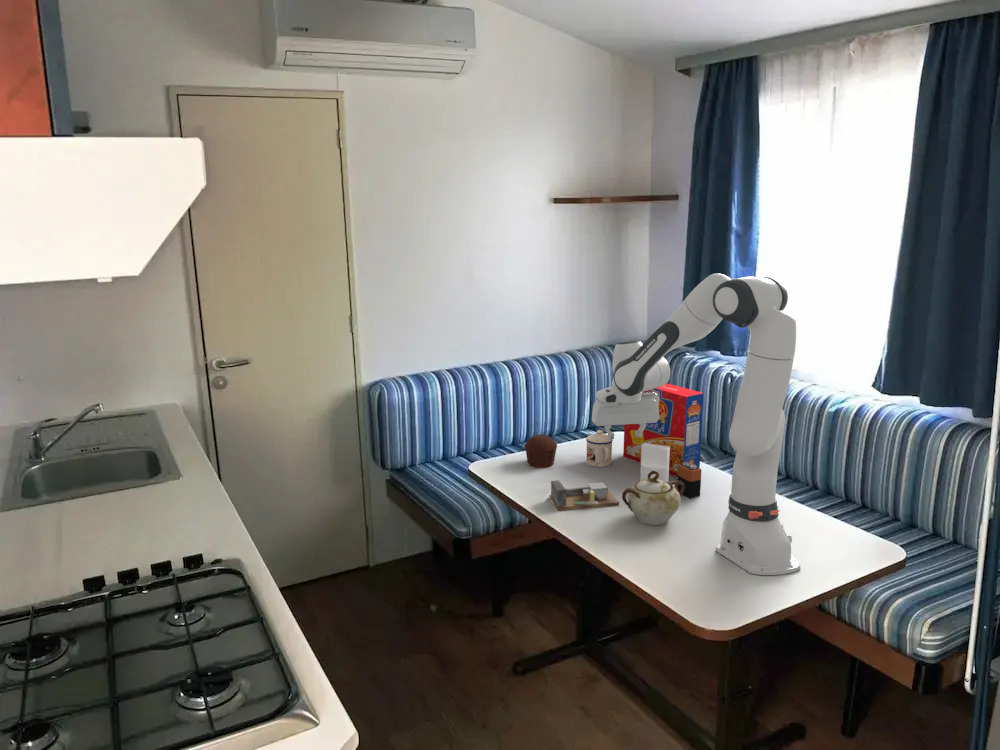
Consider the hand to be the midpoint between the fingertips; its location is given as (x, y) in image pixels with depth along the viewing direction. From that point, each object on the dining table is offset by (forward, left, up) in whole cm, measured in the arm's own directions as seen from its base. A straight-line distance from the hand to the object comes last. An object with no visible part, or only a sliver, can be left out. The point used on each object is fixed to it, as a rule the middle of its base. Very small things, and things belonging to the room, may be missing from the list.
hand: (624, 437), depth 244 cm
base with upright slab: (+12, -15, -20) cm, 27 cm away
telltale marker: (-4, +11, -18) cm, 21 cm away
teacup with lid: (+31, -3, -20) cm, 37 cm away
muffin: (+36, +17, -20) cm, 44 cm away
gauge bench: (0, +13, -20) cm, 23 cm away
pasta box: (+26, -23, -20) cm, 40 cm away
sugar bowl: (-17, -3, -20) cm, 26 cm away
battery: (-1, -21, -20) cm, 29 cm away
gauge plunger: (-1, +9, -18) cm, 21 cm away
